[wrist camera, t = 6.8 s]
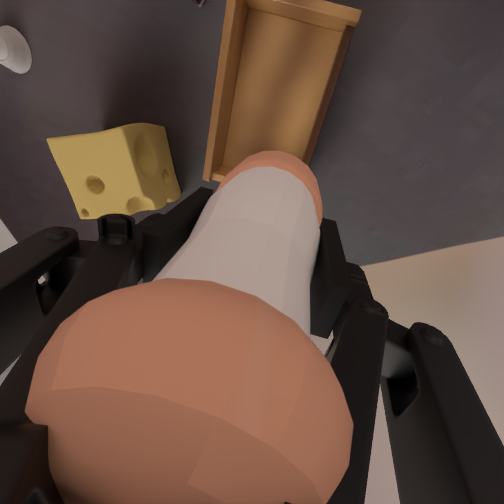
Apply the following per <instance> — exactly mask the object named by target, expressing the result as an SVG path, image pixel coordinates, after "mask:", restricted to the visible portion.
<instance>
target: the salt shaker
mask: <svg viewBox="0 0 504 504" xmlns="http://www.w3.org/2000/svg"><path fill="white" fill-rule="evenodd" d="M322 209H323V208H322V202H321V196H320V191H319V187H318V183H317V179H316V177H315V176H314V174H313V173H312V171H311V170H310V168H309V167H308V165H306V164H305V163H304V162H302V161H301V160H300V159H298V158H297V157H296V156H294V155H291V154H288V153H285V152H282V151H262V152H259V153H256V154H254V155H251V156H248V157H247V158H246V159H245V160H243V161H242V162H241V163H240V164H239V165H237V166H236V167H235V168H234V169H233V170H232V171H230V172H229V173H228V174H227V175H226V176H225V177H224V179H223V180H222V182H221V184H220V185H219V187H218V189H217V190H216V193H214V194H213V195H212V196H211V197H210V198H209V200H208V202H207V204H206V205H205V207H204V209H203V210H202V212H201V214H200V216H199V218H198V220H197V222H196V224H195V226H194V228H193V230H192V232H191V234H190V236H189V238H188V240H187V241H186V242H185V244H184V245H183V246H182V247H181V248H180V249H179V251H178V252H177V253H176V254H175V255H174V256H173V258H172V259H171V260H170V261H169V262H168V263H167V264H166V266H165V267H164V268H163V269H162V270H161V271H160V273H159V274H158V275H157V276H156V277H155V278H154V280H153V281H151V282H147V283H143V284H139V285H135V286H131V287H126V288H122V289H118V290H114V291H112V292H109V293H107V294H105V295H103V296H100V297H98V298H96V299H93V300H91V301H89V302H87V303H86V304H85V305H83V306H82V307H81V308H80V309H78V310H77V311H76V312H74V313H73V314H72V315H71V316H69V317H68V318H67V319H66V320H64V321H63V322H62V323H60V325H59V326H58V328H57V329H56V331H55V332H54V334H53V335H52V337H51V338H50V340H49V341H48V343H47V344H46V346H45V347H44V349H43V350H42V352H41V353H40V355H39V356H38V360H37V363H36V366H35V370H34V374H33V378H32V382H31V386H30V391H29V395H28V399H27V403H26V407H25V413H26V414H27V416H28V417H29V419H30V420H31V421H32V422H33V423H35V424H42V425H48V460H49V469H50V472H51V475H52V477H53V480H54V482H55V485H56V487H57V489H58V491H59V493H60V495H61V497H62V499H63V501H64V503H65V504H284V502H289V503H291V504H326V503H327V502H328V500H329V499H330V497H331V496H332V494H333V492H334V491H335V489H336V488H337V486H338V485H339V483H340V481H341V479H342V478H343V476H344V474H345V472H346V470H347V468H348V466H349V459H350V451H351V442H352V433H353V421H352V418H351V415H350V412H349V409H348V405H347V402H346V399H345V396H344V393H343V390H342V388H341V386H340V383H339V381H338V379H337V377H336V375H335V373H334V371H333V369H332V367H331V365H330V363H329V362H328V361H327V359H326V358H325V357H324V355H323V354H322V353H321V351H320V350H319V349H318V348H317V346H316V345H315V344H314V343H313V342H312V341H311V339H310V283H311V279H312V275H313V272H314V268H315V264H316V260H317V256H318V251H319V242H320V229H319V227H320V224H321V220H322Z"/></svg>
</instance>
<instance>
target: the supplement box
mask: <svg viewBox="0 0 504 504" xmlns="http://www.w3.org/2000/svg"><path fill="white" fill-rule="evenodd" d="M193 1H194V2H195V3H196V4H197V5H198V6H199V7H201V6H202V5H203V3H204V1H205V0H193Z"/></svg>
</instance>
